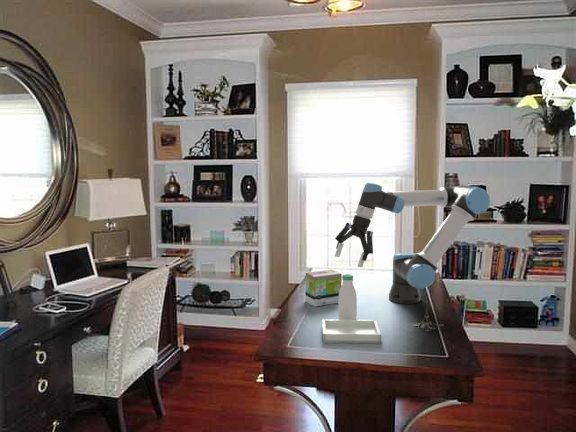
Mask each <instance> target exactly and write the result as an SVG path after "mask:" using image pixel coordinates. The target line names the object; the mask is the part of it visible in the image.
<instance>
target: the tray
mask: <svg viewBox="0 0 576 432" xmlns="http://www.w3.org/2000/svg"><path fill="white" fill-rule="evenodd" d="M321 323H322V325H321V326H322V342H323V344H326V343H327V344H382V333H381V331H380V327H379V325H378V322H377V320H376V319H356V320H339V319H326V318H325V319H323V318H322V322H321Z"/></svg>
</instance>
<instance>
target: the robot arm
mask: <svg viewBox="0 0 576 432" xmlns="http://www.w3.org/2000/svg"><path fill="white" fill-rule="evenodd" d="M382 189H383V186H382V185H380V184H376V183H374V182H370V181H368V182H366V183H364V187H363V190H362V192H361V196H360V198H359V203H358V205H357V209H356V211H355V215H354V216H353V219H352V223H350V222H346V223H345V226H344V227H343V228H342V229H341V231H339V233H338V234H337V235H336V237H335V239H334V240H336V241H337V244H336V247H335V249H336V250H335V254H334V257H335V258H340V256H341V253H342V250H343V247H344V242H345V241H347V240H349V239H350V238H351V237H353V236H354V237H356V238H358V239H359V240H360V243H361V248H362V250H363V252H361V253H360V257H359V260H358V262H357V267H358V268H363V266H364V263H365V262H366V261H367V259H368V256H369V255H371V254H374V248H373V247H374V246H373V245H374V244H373V234H374V232H373V231H372V230H368V229H369V227H370V225H371V221H372V220H371V219H373V216H374V213H375V210H376V208H379V209H381V210H384V211H388V212H391V213H394V214H400V213H402V211H403V210H404V208H405V207H406V208H407V207H408V208H409V207H410V208H411V207H428V206H429V207H431V206H433V207H434V206H435V207H436V206H440V207H441V208H451V211H450V213H449V214H448V216H447V217H446V218H445V220H443V222H442V223H441V225H440V226H439V227H438V229H437V230H436V232H435V233H434V234H433V236H432V237H431V238H430V239H429V241H428V242H427V244H426V245H425V246H424V248H423V249H422V251H420V252H416V253H414V252H413V253H412V252H402V253H401V252H400V253H395V254H394V255H393V257H392V284H391V287H390V290H389V293H388V300H389V301H390V302H394V303H396V304H404V305H412V304H418V303H420V302H421V293H420V290H419V289H422V290H423V289H426V288H428V287H430V286H431V285H432V284H433V283H434V282H435V280H436V279H435V278H436V271H437V270H438V263H439V261H440V260H441V259H442V257H443V256H444V254H446V252H447V251H448V249H449V248H450V246H451V245H452V244H453V243H454V241H455V240H456V238H457V237H458V235H459V234H460V233H461V232H462V230H463V229H464V227H465V226H466V225H467V224H468V223H469V222H471V221H474V220H475V219H476V218H477V216H478V215H481V214H483V213H485V212H486V211H488V209H489V207H490V203H491V200H490V194H489V193H488V192H487V191H486V189H484V188H481V187H480V186H469V185H455V186H448V187H447V186H446V187H440V188H439V189H430V190H429V189H427V190H425V189H424V190H421V189H420V190H401V191H399V190H397V191H384V190H382Z"/></svg>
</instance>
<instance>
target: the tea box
mask: <svg viewBox="0 0 576 432" xmlns="http://www.w3.org/2000/svg"><path fill="white" fill-rule="evenodd" d="M342 276H343V274H342V273H340V272H338V271H335V270H333V269H326V270H318V271H309V272H305V279H304V280H305V286H304V288H305V289H304V291H305V292H304V302H305V303H307V304H309V305H311V306H313V307H314V308H316V307H320V306H325V305H326V306H327V305H331V304H332V305H333V304H339V291H340V289H341V286H342V284H343V280H342Z"/></svg>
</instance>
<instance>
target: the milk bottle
mask: <svg viewBox="0 0 576 432" xmlns="http://www.w3.org/2000/svg"><path fill="white" fill-rule="evenodd" d="M353 281H354V275H353V274H347V273H346V274H342V283H341V289H340V291H339V303H338V320H357V292H356V288H355V287H354V284H353V283H354V282H353Z"/></svg>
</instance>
